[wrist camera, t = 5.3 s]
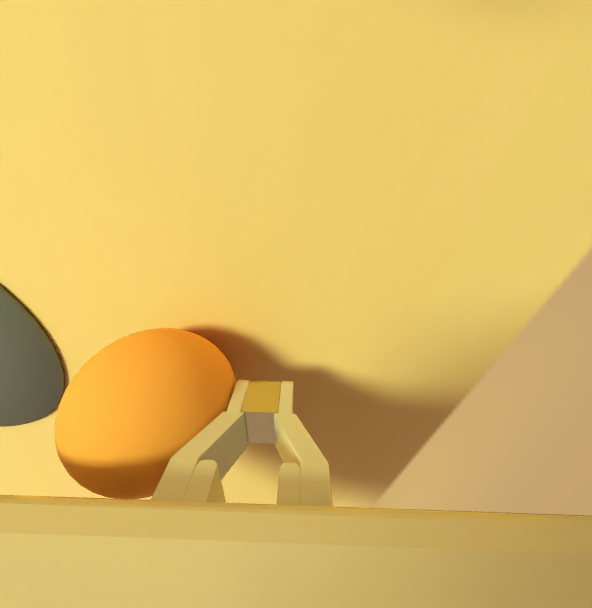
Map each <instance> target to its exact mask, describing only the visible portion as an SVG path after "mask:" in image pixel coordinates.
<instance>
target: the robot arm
mask: <svg viewBox="0 0 592 608" xmlns="http://www.w3.org/2000/svg"><path fill="white" fill-rule="evenodd" d="M293 390H294V382H293V381H260V380H238V381H237V382H236V385H235V388H234V391H233V394H232V397H231V400H230V403H229V406H228V409H227V412H222V413H221V414H220V415H219V416H217V417H216V418H215V419H214V420H213V421H212V422H211V423H210V424H208V425H207V426H206V427H205V428H204V429H203V430H202V431H201V432H199V433H198V434H197V435H196V436H195V437H194V438H193V439H191V440H190V441H189V442H188V443H187V444H186V445H185V446H184V447H182V448H181V449H180V450H179V451H178V452H177V453H176V454H175V455H173V456H172V457H171V459H170V461H169V463H168V465H167V467H166V469H165V471H164V474H163V476H162V478H161V480H160V482H159V484H158V486H157V488H156V490H155V492H154V494H153V496H152V498H151V500H134V499H106V498H78V497H50V496H22V495H0V608H592V516H583V515H581V516H580V515H555V514H527V513H498V512H470V511H469V512H468V511H442V510H413V509H411V510H410V509H384V508H356V507H333V505H332V494H331V484H330V473H329V463H328V462H327V460H326V459H325V457H324V456H323V454H322V453H321V451H320V450H319V448H318V447H317V445H316V444H315V442H314V441H313V439H312V438H311V436H310V434H309V433H308V431H307V430H306V428H305V427H304V425H303V424H302V422H301V421H300V419H299V418H298V416H297V415H296V414H293ZM248 443H265V444H275V446H276V448H277V450H278V452H279V455H280V457H281V459H282V461H283V464H282V465H281V466H280V472H279V482H278V493H277V504H276V505H275V504H247V503H226V500H225V496H224V492H223V487H222V483H221V480H222V478H223V477H224V476H225V475H226V473H227V472H228V471H229V469H230V468H231V467H232V465H233V464H234V463H235V461H236V460H237V459H238V457H239V456H240V455H241V453H242V452H243V451H244V450H245V448H246V447H247V446H248Z"/></svg>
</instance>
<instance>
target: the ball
mask: <svg viewBox="0 0 592 608" xmlns="http://www.w3.org/2000/svg"><path fill="white" fill-rule="evenodd" d="M235 385H236V379H235V375H234V372H233V370H232V367H231V365H230V363H229V362H228V360H227V359H226V357H225V356H224V354H223V353H222V352H221V351H220V350H219V349H218V348H217V347H216V346H215V345H214V344H212V343H211V342H210V341H208V340H207V339H205V338H203V337H201V336H199V335H197V334H194V333H192V332H188V331H184V330H179V329H151V330H146V331H141V332H137V333H134V334H131V335H128V336H125V337H123V338H121V339H119V340H117V341H115V342H113V343H111V344H110V345H108V346H106V347H105V348H103V349H102V350H100V351H99V352H98V353H97V354H95V355H94V356H93V357H91V358H90V359H89V360H88V361H87V362H86V363H85V364H84V365H83V366H82V367H81V369H80V370H79V371H78V372H77V374H76V375H75V376H74V377H73V379H72V380H71V382H70V384H69V385H68V387H67V389H66V390H65V392H64V395H63V397H62V399H61V402H60V404H59V408H58V412H57V416H56V420H55V443H56V448H57V452H58V455H59V458H60V460H61V462H62V464H63V465H64V467H65V469H66V470H67V472H68V473H69V475H70V476H71V477H72V478H73V479H74V480H76V481H77V482H78V483H79V484H80V485H81V486H83V487H84V488H86V489H88V490H90V491H91V492H93V493H96V494H99V495H102V496H105V497H109V498H115V499H138V498H145V497H150V496H153V494H154V492H155V490H156V488H157V486H158V484H159V482H160V480H161V478H162V476H163V474H164V471H165V469H166V467H167V465H168V463H169V461H170V459H171V457H172V456H173V455H175V454H176V453H177V452H178V451H179V450H180V449H181V448H182V447H184V446H185V445H186V444H187V443H188V442H189V441H190V440H191V439H193V438H194V437H195V436H196V435H197V434H198V433H199V432H201V431H202V430H203V429H204V428H205V427H206V426H207V425H208V424H210V423H211V422H212V421H213V420H214V419H215V418H216V417H217V416H219V415H220V414H221V413H222V412H227V409H228V406H229V403H230V400H231V397H232V394H233V391H234V388H235Z"/></svg>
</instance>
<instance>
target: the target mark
mask: <svg viewBox="0 0 592 608" xmlns="http://www.w3.org/2000/svg"><path fill="white" fill-rule="evenodd" d="M64 383H65V380H64V371H63V367H62V364H61V361H60V358H59V356H58V354H57V352H56V349H55V347H54V345H53V344H52V342H51V341H50V339H49V337H48V336H47V334H46V333H45V331H44V330H43V329H42V327H41V326H40V325H39V324H38V322H37V321H36V320H35V318H34V317H33V316H32V315H31V314H30V313H29V312H28V311H27V310H26V309H25V308H24V307H23V305H22V304H21V303H20V302H19V301H18V300H16V299H15V298H14V297H13V296H12V295H11V294H10V293H9V292H8V291H7V290H5V289H4V288H3V287H2V286H1V285H0V426H16V425H22V424H26V423H30V422H33V421H36V420H38V419H40V418H42V417H44V416H45V415H47V414H48V413H49V412H50V411H51V410H52V409H53V408H54V407H56V405H57V404H58V402H59V401H60V399H61V397H62V394H63V391H64Z"/></svg>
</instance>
